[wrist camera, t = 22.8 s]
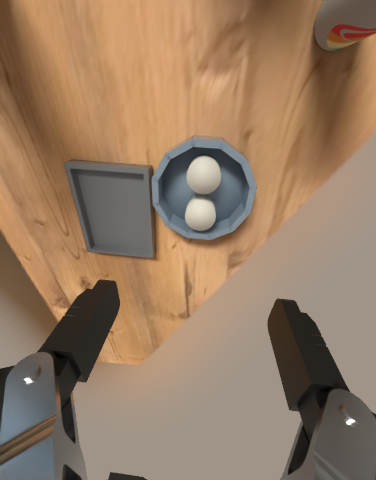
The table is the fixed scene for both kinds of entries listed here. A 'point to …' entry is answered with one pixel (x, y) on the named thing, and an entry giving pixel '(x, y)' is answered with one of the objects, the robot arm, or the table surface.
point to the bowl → (225, 196)
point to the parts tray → (114, 206)
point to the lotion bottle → (344, 23)
